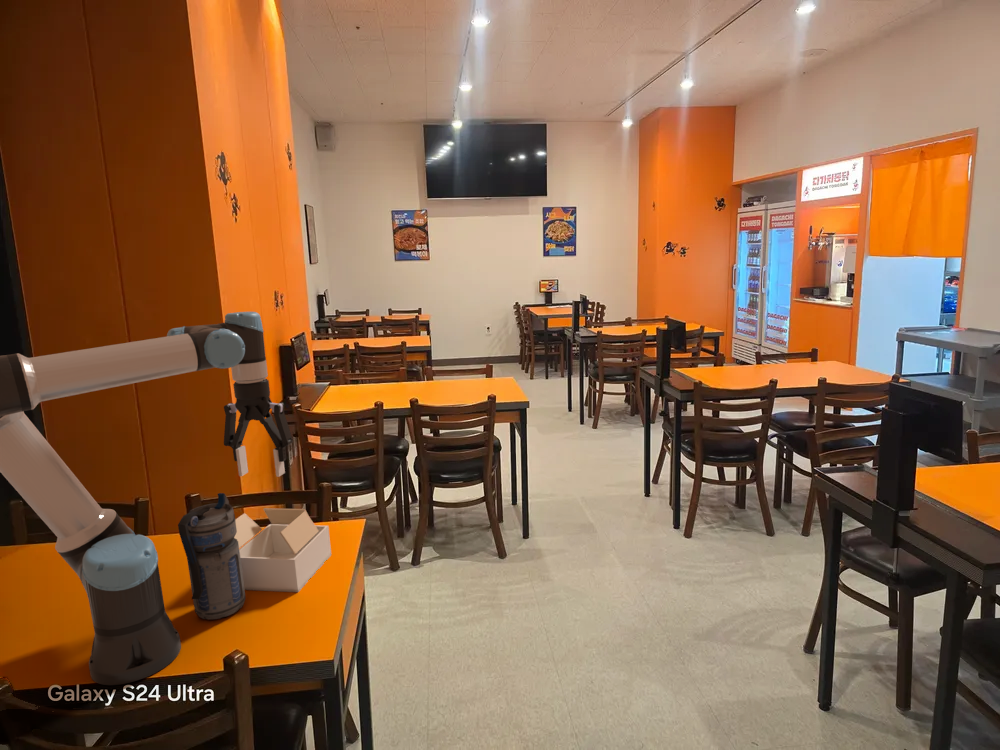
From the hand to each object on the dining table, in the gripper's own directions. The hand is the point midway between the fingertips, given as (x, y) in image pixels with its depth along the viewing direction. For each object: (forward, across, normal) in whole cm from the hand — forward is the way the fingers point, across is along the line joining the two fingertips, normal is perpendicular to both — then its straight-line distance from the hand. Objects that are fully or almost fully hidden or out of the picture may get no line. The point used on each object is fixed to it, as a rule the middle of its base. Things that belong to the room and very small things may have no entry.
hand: (262, 474), depth 145 cm
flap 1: (+14, -1, -8) cm, 17 cm away
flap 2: (+14, -8, 0) cm, 16 cm away
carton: (+25, 0, -2) cm, 25 cm away
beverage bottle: (+26, +4, +16) cm, 31 cm away
